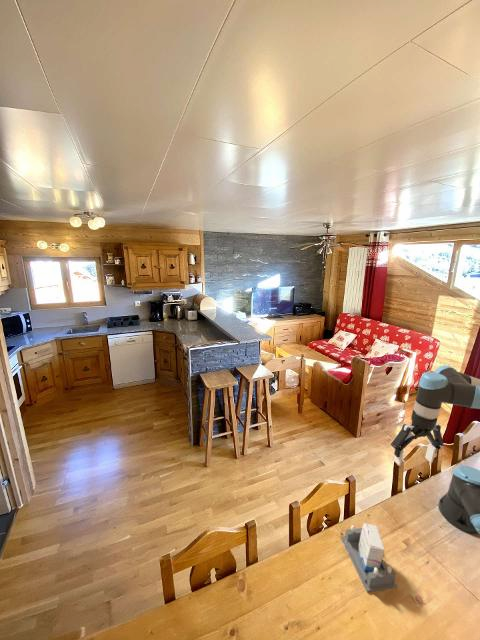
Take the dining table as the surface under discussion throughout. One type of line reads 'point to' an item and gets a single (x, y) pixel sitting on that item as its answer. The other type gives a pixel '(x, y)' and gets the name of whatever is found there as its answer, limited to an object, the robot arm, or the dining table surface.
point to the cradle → (369, 579)
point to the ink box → (370, 547)
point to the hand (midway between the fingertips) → (413, 461)
